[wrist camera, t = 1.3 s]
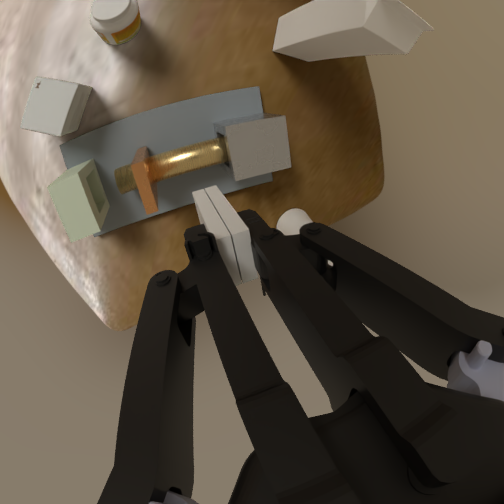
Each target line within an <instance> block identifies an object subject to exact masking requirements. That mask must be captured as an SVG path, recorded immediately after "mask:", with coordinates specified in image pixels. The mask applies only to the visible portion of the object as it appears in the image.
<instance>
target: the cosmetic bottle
mask: <svg viewBox="0 0 504 504" xmlns="http://www.w3.org/2000/svg"><path fill="white" fill-rule="evenodd" d="M308 223H312V220H311V219H310V218H309V216H308V215H307V214H306V212H305V211H303V210H301V209H297V208H295V209H290V210H288V211H286V212H285V213H284V214H283V215H282V216H281V217H280V218H279V220H278V223H277V229H278V230H280V231H281V232H282V233H283V234H284V235H296V234H300V233H299V230H300V228H301V227H302V226H303V225H305V224H308ZM328 264H329V265H331V266H333V263H332V262H331V261H329V260H328Z"/></svg>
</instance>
